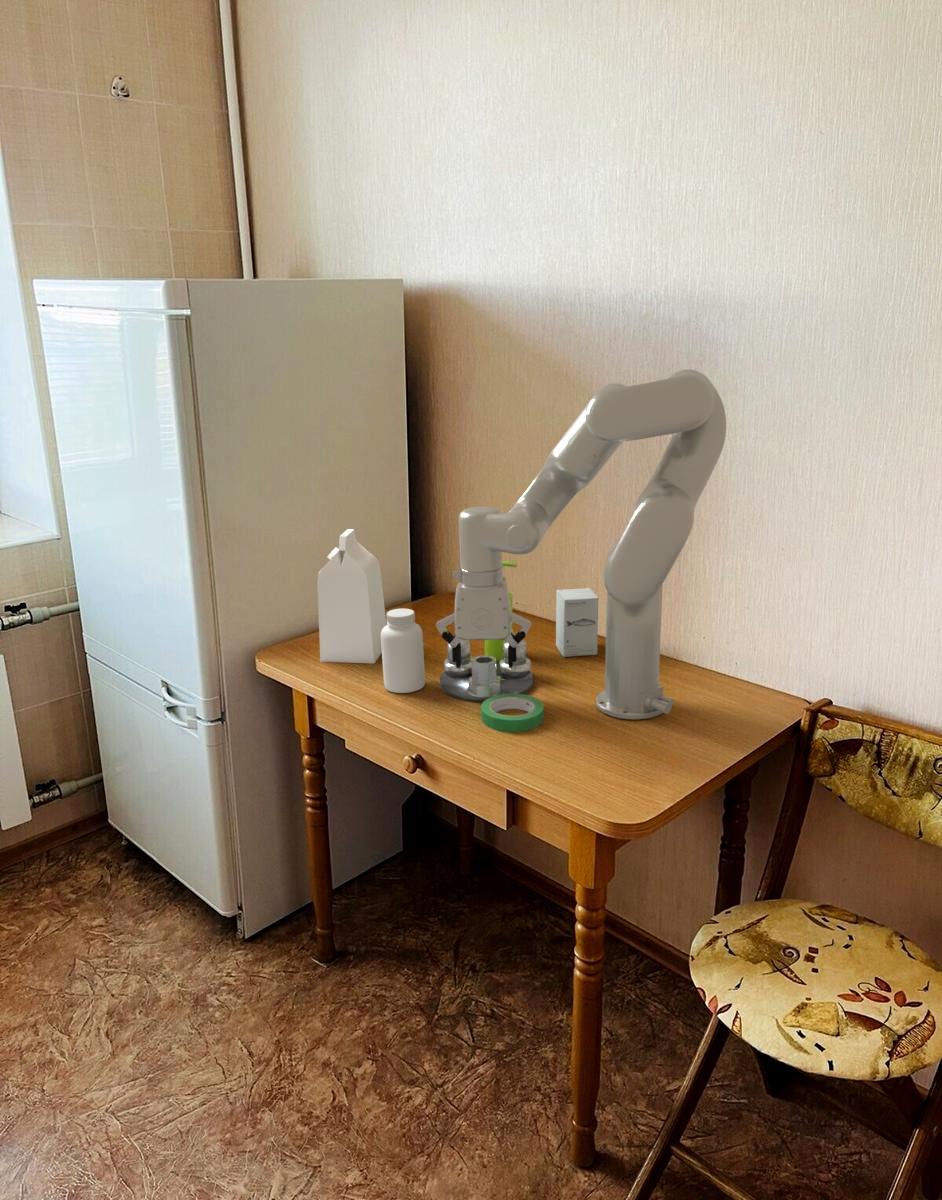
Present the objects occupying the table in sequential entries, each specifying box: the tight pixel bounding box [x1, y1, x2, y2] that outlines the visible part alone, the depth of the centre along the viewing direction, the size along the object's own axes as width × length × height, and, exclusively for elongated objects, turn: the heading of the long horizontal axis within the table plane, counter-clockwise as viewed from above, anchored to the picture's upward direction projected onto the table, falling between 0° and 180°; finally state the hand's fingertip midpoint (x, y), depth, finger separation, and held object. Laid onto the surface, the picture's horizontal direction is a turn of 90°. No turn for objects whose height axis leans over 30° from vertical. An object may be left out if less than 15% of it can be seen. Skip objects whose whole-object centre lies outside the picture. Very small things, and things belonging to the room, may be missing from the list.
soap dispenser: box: [483, 560, 518, 660], centre depth 195 cm, size 6×7×20 cm
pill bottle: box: [381, 608, 426, 694], centre depth 181 cm, size 8×8×15 cm
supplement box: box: [555, 587, 599, 658], centre depth 197 cm, size 7×7×13 cm
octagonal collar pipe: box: [468, 655, 501, 696], centre depth 177 cm, size 6×6×6 cm
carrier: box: [439, 639, 534, 703], centre depth 183 cm, size 18×18×7 cm
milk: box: [316, 528, 387, 664], centre depth 198 cm, size 12×12×26 cm
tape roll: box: [480, 694, 545, 733], centre depth 168 cm, size 11×11×3 cm
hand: (484, 665), depth 176 cm, fingers open, 9 cm apart
